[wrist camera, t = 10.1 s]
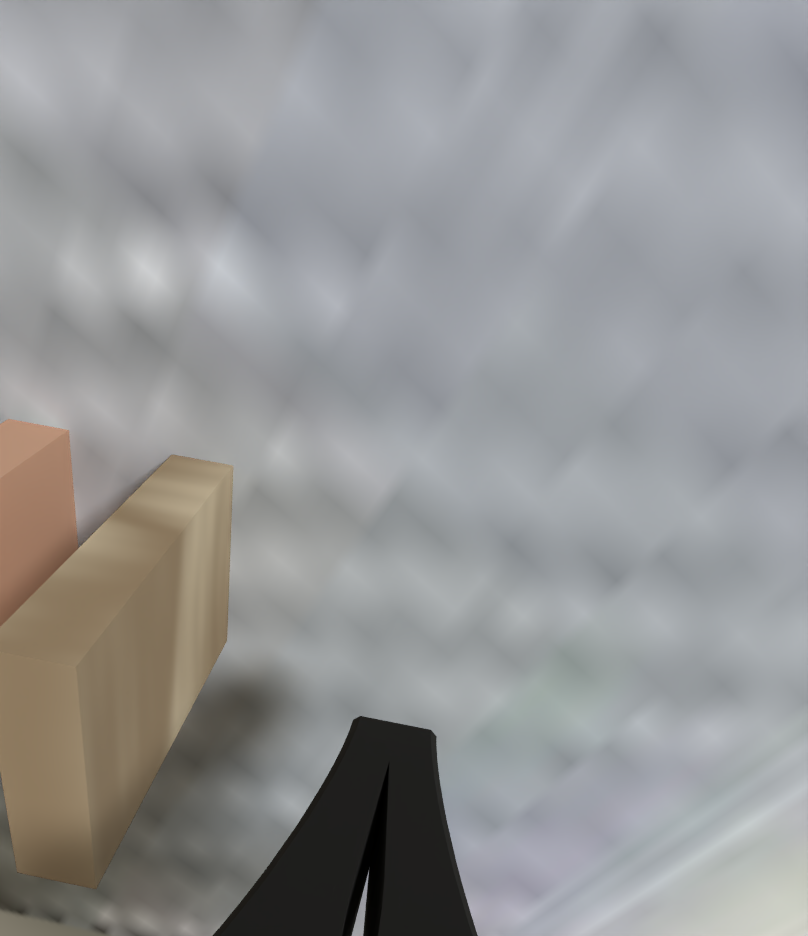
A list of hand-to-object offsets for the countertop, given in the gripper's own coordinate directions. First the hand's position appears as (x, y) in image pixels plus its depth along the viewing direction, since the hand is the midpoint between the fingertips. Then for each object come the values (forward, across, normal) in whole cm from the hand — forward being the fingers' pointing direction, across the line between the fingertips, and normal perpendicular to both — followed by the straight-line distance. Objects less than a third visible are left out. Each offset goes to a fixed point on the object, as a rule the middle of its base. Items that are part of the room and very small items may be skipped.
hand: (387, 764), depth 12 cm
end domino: (+5, +5, 0) cm, 7 cm away
